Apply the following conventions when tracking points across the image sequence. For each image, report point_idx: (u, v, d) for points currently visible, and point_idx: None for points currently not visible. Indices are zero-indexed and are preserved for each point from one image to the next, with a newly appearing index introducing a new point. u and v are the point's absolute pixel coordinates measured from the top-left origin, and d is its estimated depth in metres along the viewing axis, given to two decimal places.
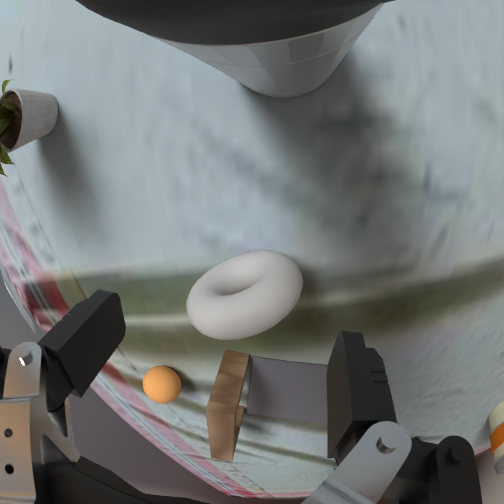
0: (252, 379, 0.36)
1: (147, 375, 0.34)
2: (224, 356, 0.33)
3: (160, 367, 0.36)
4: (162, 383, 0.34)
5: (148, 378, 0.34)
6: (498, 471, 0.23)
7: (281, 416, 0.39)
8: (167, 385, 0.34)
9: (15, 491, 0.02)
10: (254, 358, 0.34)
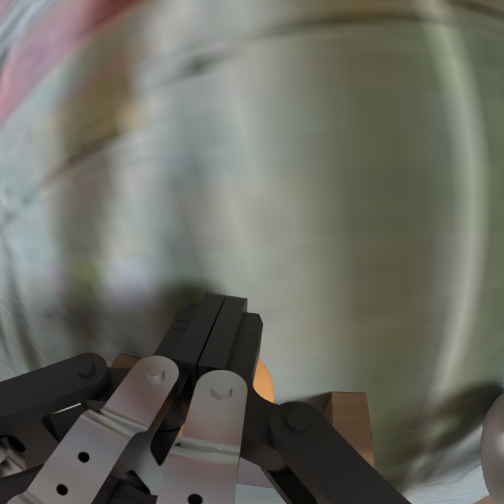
0: None
1: None
2: None
3: None
4: None
5: None
6: None
7: None
8: None
9: None
10: None
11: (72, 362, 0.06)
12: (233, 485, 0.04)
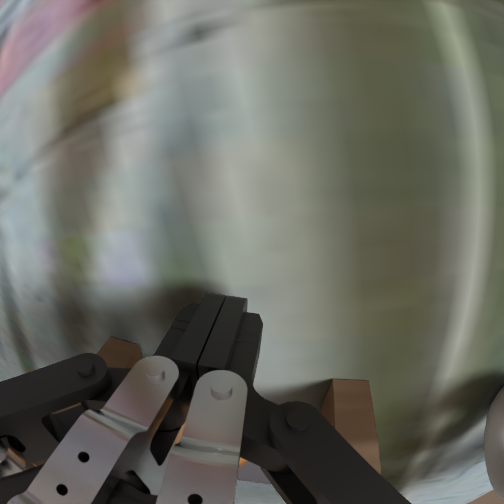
0: None
1: None
2: None
3: None
4: None
5: None
6: None
7: None
8: None
9: None
10: None
11: (71, 362, 0.06)
12: (233, 485, 0.04)
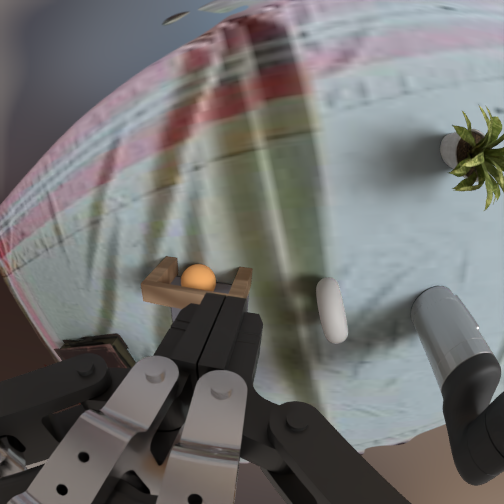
0: (221, 285, 0.47)
1: None
2: (251, 272, 0.44)
3: None
4: None
5: None
6: None
7: None
8: None
9: None
10: None
11: (72, 362, 0.06)
12: (233, 485, 0.04)
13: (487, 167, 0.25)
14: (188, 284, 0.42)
